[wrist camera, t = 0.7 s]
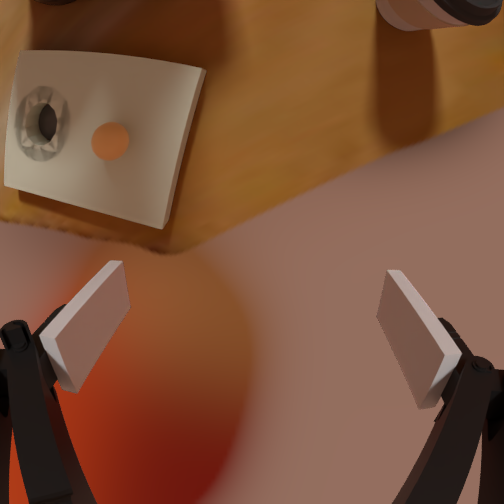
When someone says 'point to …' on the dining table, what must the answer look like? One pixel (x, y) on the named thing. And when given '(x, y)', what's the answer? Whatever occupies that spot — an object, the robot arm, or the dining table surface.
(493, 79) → the dining table surface
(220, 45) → the dining table surface
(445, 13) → the coffee cup
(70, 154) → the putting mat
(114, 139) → the ball
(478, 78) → the dining table surface
